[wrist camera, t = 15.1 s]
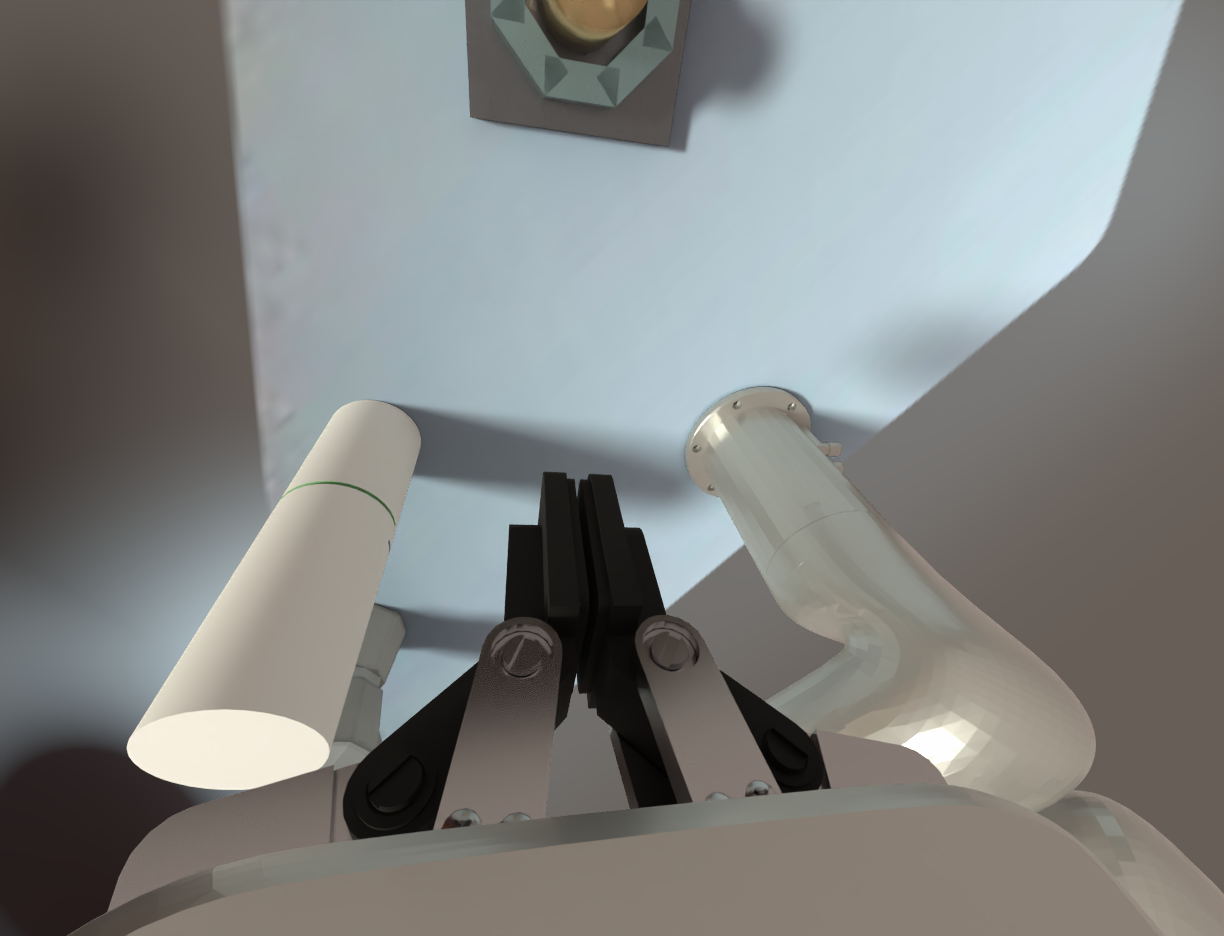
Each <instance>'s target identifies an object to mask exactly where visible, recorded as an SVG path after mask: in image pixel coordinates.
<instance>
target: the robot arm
mask: <svg viewBox="0 0 1224 936" xmlns="http://www.w3.org/2000/svg"><path fill="white" fill-rule="evenodd" d="M811 428H812V427H811V421H810V417H809V414H808V412H807V410H806V408H805V407H804V406H803V405H802V404H801V403H800V401H798V400H797V399H796V398H795V397H794V396H793V395H792V394H790V393H788V392H786V391H784V390H781V389H777V388H773V387H754V388H747V389H744V390H741V391H738V392H735V393H733V394H731V395H729V396H727V397H724V398H722V399H721V400H720V401H718V402H717V403H715V404H714V405H712V406H711V407H710V408H709V409H708V410H707V411H706V412H705V413H704V414H703V415H702V416H701V417H700V418H699V420H698V421H697V422H696V424H695V425H694V427H693V429H692V430H691V432H690V434H689V437H688V440H687V443H686V447H685V462H686V467H687V469H688V472H689V474H690V476H691V478H692V479H693V481H694V483H695V484H696V485H697V486H698V487H699V488H700V489H701V490H703V491H704V492H706V493H708V494H710V495H713V496H716V497H720V499H721V501H722V502H723V504H724V506H725V508H726V510H727V512H728V513H729V515H730V517H731V519H732V521H733V523H734V524H735V526H736V528H737V530H738V532H739V534H740V536H741V537H742V539H743V541H744V543H745V545H746V546H747V548H748V550H749V552H750V554H751V556H752V558H753V560H754V561H755V563H756V565H757V567H758V569H759V570H760V572H761V574H762V576H763V578H764V580H765V582H766V583H767V585H768V587H769V589H770V591H771V592H772V594H773V596H774V598H775V600H776V601H777V603H778V604H779V606H780V607H781V608H782V610H783V611H784V612H785V613H786V614H787V615H788V616H789V617H790V618H791V619H793V620H794V621H795V622H796V623H798V624H799V625H801V626H803V627H804V628H806V629H808V630H810V631H812V632H815V633H817V634H819V635H822V636H824V637H827V638H830V639H833V640H836V641H839V642H842V643H844V644H846V645H845V647H844V649H843V650H842V651H841V652H840V653H839V654H838V655H836V656H835V657H833V658H832V659H830V660H829V661H827V662H826V663H825V664H824V665H823V666H822V667H820V668H819V669H817V670H815V671H814V672H812V673H810V674H809V675H807V676H805V677H804V678H802V679H800V680H799V681H797V682H796V683H794V684H792V685H791V686H789V687H788V688H786V689H784V690H783V691H781V692H779V693H778V694H776V695H774V696H773V697H771V698H770V699H768V700H767V701H763V700H762V699H761V698H759V697H758V696H756V695H755V694H753V693H752V692H750V691H749V690H748V689H746V688H745V687H743V686H742V685H741V684H739V683H738V682H736V681H735V680H734V679H732V678H731V677H729V676H728V675H726V674H725V673H724V672H722V671H721V670H719V669H718V666H717V664H716V663H715V661H714V659H713V657H712V655H711V653H710V651H709V649H708V647H707V645H706V643H705V641H704V639H703V638H702V636H701V635H700V633H699V632H698V630H696V629H695V628H694V627H693V626H692V625H691V624H690V623H688V622H686V621H684V620H682V619H680V618H678V617H674V616H670V615H666V612H665V608H664V605H663V601H662V598H661V594H660V591H659V587H658V584H657V580H656V577H655V573H654V570H653V566H652V563H651V559H650V556H649V552H648V549H647V545H646V542H645V538H644V535H643V532H642V530H641V529H640V528H628V527H624V523H623V519H622V515H621V511H620V507H619V503H618V499H617V494H616V490H615V486H614V482H613V478H612V476H611V475H600V474H589V476H588V479H587V480H583V479H581V480H580V483H579V489H578V496H577V495H576V487H575V480H574V479H567V476H566V473H559V472H543V478H542V488H541V498H540V509H539V519H538V525H510V524H509V541H508V560H507V578H506V597H505V615H504V622H502V623H501V624H499V625H497V626H496V627H495V628H494V629H493V630H492V631H491V632H490V633H489V634H488V635H487V638H486V640H485V642H484V644H483V647H482V650H481V654H480V658H479V661H478V662H477V663H476V664H475V665H474V666H472V667H471V668H470V669H469V670H468V671H467V672H465V673H464V674H463V675H462V676H461V677H459V678H458V679H457V680H456V681H455V682H453V683H452V684H451V685H450V686H449V687H447V688H446V689H445V690H444V691H443V692H441V693H440V694H439V695H438V696H437V697H436V698H434V699H433V700H432V701H431V702H430V703H428V704H427V705H426V706H425V707H424V708H422V709H421V710H420V711H419V712H418V713H416V714H415V715H414V716H413V717H412V718H410V719H409V720H408V721H407V722H406V723H404V724H403V725H402V726H401V727H400V728H399V729H397V730H396V731H395V732H394V733H393V734H391V735H390V736H389V737H388V738H387V739H385V740H384V741H383V742H382V743H381V744H379V745H378V746H377V747H376V748H375V749H373V750H372V751H371V752H370V753H369V754H368V755H367V756H366V757H365V758H364V759H363V760H362V761H361V762H360V763H357V764H353V765H350V766H347V767H343V768H340V769H337V770H336V769H335V766H334V765H332V766H328V767H325V768H322V769H318V770H315V771H312V772H308V773H305V774H301V775H298V776H295V777H291V778H288V779H285V780H281V781H278V782H274V783H271V784H268V785H264V786H261V787H258V788H254V789H251V790H248V791H245V792H241V793H237V794H234V795H231V796H227V797H224V798H221V799H217V800H214V801H210V802H207V803H204V804H200V805H197V806H194V807H191V808H189V809H187V810H184V811H182V812H180V813H178V814H176V815H173V816H171V817H170V818H168V819H167V820H166V821H164V822H163V823H162V824H161V825H159V826H158V827H156V828H155V829H154V830H152V831H151V832H150V833H149V834H148V835H147V836H146V837H145V838H144V839H143V841H142V842H141V843H140V844H139V845H138V846H137V847H136V849H135V850H134V851H133V852H132V853H131V855H130V857H129V858H128V860H127V862H126V864H125V866H124V868H123V870H122V872H121V874H120V876H119V879H118V882H117V885H116V888H115V891H114V894H113V897H112V900H111V903H110V906H109V909H108V912H107V913H106V914H104V915H102V916H100V917H98V918H96V919H94V920H92V921H91V922H89V923H87V924H86V925H84V926H82V927H81V928H79V929H78V930H76V931H74V932H73V933H71V934H69V935H68V936H1224V894H1223V893H1222V892H1221V891H1220V890H1219V888H1218V887H1217V886H1216V885H1214V883H1213V882H1212V881H1211V880H1210V879H1209V878H1208V877H1206V876H1205V875H1204V874H1203V873H1202V872H1201V871H1200V870H1199V869H1198V868H1197V867H1196V866H1195V865H1194V864H1193V863H1192V862H1191V861H1190V860H1189V859H1188V858H1187V857H1186V856H1185V855H1184V854H1183V853H1182V852H1181V851H1180V850H1179V849H1178V848H1177V847H1175V846H1174V845H1173V844H1172V843H1171V842H1170V841H1169V840H1168V839H1167V838H1165V837H1164V836H1163V835H1162V834H1161V833H1160V832H1159V831H1158V830H1156V829H1155V828H1154V827H1153V826H1152V825H1150V824H1149V823H1148V822H1146V821H1145V820H1144V819H1142V818H1141V817H1139V816H1138V815H1137V814H1135V813H1134V812H1132V811H1131V810H1129V809H1128V808H1126V807H1124V806H1122V805H1121V804H1119V803H1117V802H1115V801H1113V800H1111V799H1109V798H1107V797H1104V796H1101V795H1099V794H1095V793H1091V792H1084V791H1073V790H1074V789H1075V788H1076V787H1077V786H1078V784H1079V783H1080V782H1081V781H1082V780H1083V779H1084V777H1085V776H1086V775H1087V773H1088V771H1089V769H1090V767H1091V765H1092V763H1093V760H1094V756H1095V747H1096V741H1095V733H1094V730H1093V727H1092V723H1091V721H1090V719H1089V717H1088V714H1087V713H1086V711H1085V709H1084V708H1083V706H1082V704H1081V703H1080V702H1079V700H1078V699H1077V697H1076V696H1075V695H1074V693H1073V692H1072V691H1071V690H1070V689H1069V687H1068V686H1067V685H1066V684H1065V683H1064V682H1063V681H1062V680H1061V679H1060V678H1059V677H1058V675H1057V674H1056V673H1055V672H1054V671H1053V670H1052V669H1050V668H1049V667H1048V666H1047V665H1046V664H1045V663H1044V662H1043V661H1041V659H1039V658H1038V657H1037V656H1036V655H1035V654H1034V653H1032V651H1030V650H1029V649H1028V648H1027V647H1026V646H1024V645H1023V644H1022V643H1021V642H1019V641H1018V640H1017V639H1016V638H1014V637H1013V636H1012V635H1011V634H1009V633H1008V632H1007V631H1006V630H1004V629H1003V628H1002V627H1001V626H999V625H998V624H997V623H996V622H995V621H993V620H992V619H991V618H990V617H988V616H987V615H986V614H984V613H983V612H982V611H981V610H980V609H979V608H977V607H976V606H975V605H974V604H972V603H971V602H970V601H969V600H967V598H965V597H964V596H963V595H962V594H961V593H960V592H959V591H957V590H956V589H955V588H954V587H953V586H952V585H950V584H949V583H948V582H947V581H946V580H945V579H944V578H943V577H941V576H940V575H939V574H938V573H937V572H936V571H935V570H934V569H933V568H932V567H931V566H930V565H929V564H928V563H927V562H926V561H925V560H924V559H923V558H922V557H921V556H920V555H919V554H918V553H917V552H916V551H915V550H914V549H913V548H912V547H911V546H910V545H909V544H908V543H907V542H906V541H905V540H904V539H903V538H902V537H901V535H900V534H899V533H898V532H897V531H896V530H895V529H894V528H893V527H892V526H891V525H890V524H889V523H888V522H887V521H886V519H884V517H883V516H882V515H881V514H880V513H879V512H878V511H877V510H876V509H875V508H874V507H873V505H872V504H871V503H870V502H869V501H868V500H867V499H866V498H865V497H864V496H863V495H862V494H861V493H860V492H859V490H858V489H857V488H856V487H855V486H854V485H853V484H852V483H851V482H850V481H849V480H848V479H847V478H846V477H845V476H844V466H843V464H842V462H840V461H831V460H830V459H829V458H828V457H827V456H839V455H840V454H841V451H842V446H841V444H840V443H838V442H825V443H821V442H820V441H819V440H818V439H817V438H816V437H815V436H814V435H813V434H812V433H811ZM576 673H577V683H578V691H579V694H582V693H587V699H588V708H596V709H597V715H598V716H599V717H600V718H601V719H603V720H604V721H605V722H606V723H607V724H608V725H609V734H610V739H611V742H612V746H613V750H614V753H615V757H616V761H617V764H618V768H619V771H620V775H621V779H622V782H623V786H624V789H625V793H626V797H627V801H628V804H629V808H630V809H626V810H618V811H607V812H598V813H588V814H579V815H570V816H560V817H552V818H545V813H546V804H547V795H548V785H549V776H550V775H549V774H550V766H551V757H552V747H553V737H554V731H555V730H556V728H557V727H558V726H559V725H560V724H561V723H562V722H563V720H564V719H565V718H566V717H567V713H568V708H569V703H570V698H571V694H572V692H573V688H574V683H575V678H576Z"/></svg>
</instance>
